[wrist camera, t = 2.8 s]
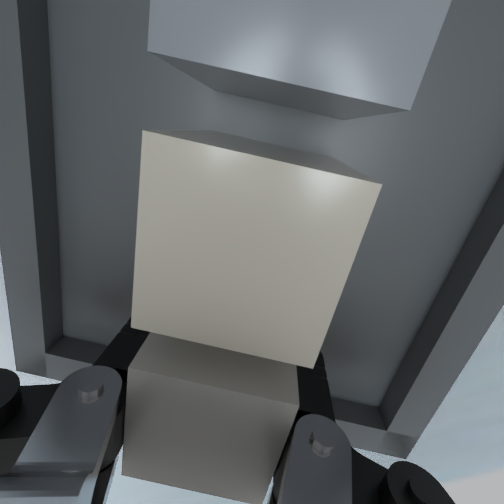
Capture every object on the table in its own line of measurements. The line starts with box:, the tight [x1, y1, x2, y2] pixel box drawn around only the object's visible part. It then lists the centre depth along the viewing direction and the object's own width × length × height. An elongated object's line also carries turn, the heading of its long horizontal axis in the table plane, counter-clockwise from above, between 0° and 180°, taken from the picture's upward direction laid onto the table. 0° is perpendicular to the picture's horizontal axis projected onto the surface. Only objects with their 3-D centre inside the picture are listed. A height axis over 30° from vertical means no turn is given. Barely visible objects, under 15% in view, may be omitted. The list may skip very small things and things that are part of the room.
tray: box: [0, 0, 504, 459], centre depth 9 cm, size 16×15×1 cm
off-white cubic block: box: [131, 130, 382, 369], centre depth 7 cm, size 4×4×4 cm
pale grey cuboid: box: [122, 332, 299, 504], centre depth 9 cm, size 4×4×4 cm
